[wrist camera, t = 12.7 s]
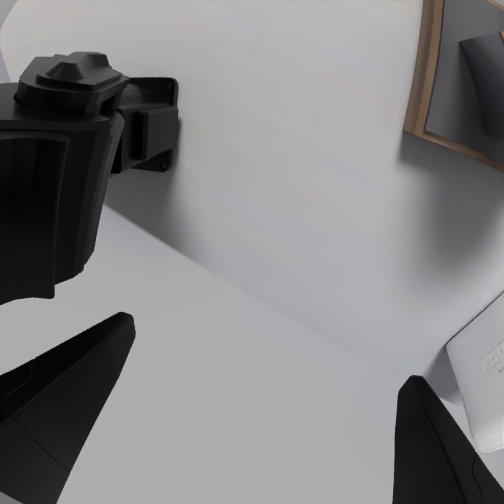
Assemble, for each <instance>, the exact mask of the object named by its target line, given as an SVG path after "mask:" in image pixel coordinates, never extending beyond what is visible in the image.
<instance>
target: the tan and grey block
mask: <svg viewBox="0 0 504 504" xmlns="http://www.w3.org/2000/svg"><path fill="white" fill-rule="evenodd" d="M459 44H460V46H461V49H462V51H463V54H464V57H465V60H466V63H467V65H468V68H469V71H470V75H471V78H472V81H473V84H474V88H475V91H476V95H477V98H478V102H479V106H480V110H481V114H482V118H483V123H484V127H485V132H486V135H488V136H491V137H493V138H496V139H499V140H501V141H504V31H503V32H498V33H493V34H488V35H484V36H479V37H475V38H471V39H467V40H463V41H459Z"/></svg>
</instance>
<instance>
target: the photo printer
mask: <svg viewBox="0 0 504 504" xmlns="http://www.w3.org/2000/svg"><path fill="white" fill-rule="evenodd" d="M446 349H447V354H448V357H449V360H450V363H451V366H452V369H453V372H454V375H455V378H456V381H457V384H458V388H459V391H460V394H461V398H462V401H463V405H464V408H465V412H466V415H467V419H468V423H469V427H470V432H471V435H472V437H473V439H474V441H475V444H476V445H477V447H478V449H479V450H480V451H483V452H484V453H487V452H493V451H497V450H500V449H503V448H504V292H503V293H502V294H501V295H500V296H499V297H498V298H497V299H496V300H495V301H494V302H493V303H492V304H491V305H490V306H489V307H487V308H486V309H485V310H484V311H483V312H482V313H481V314H480V315H479V316H478V317H476V318H475V319H474V320H473V321H472V322H471V323H470V324H469V325H468V326H466V327H465V328H464V329H463V330H462V331H461V332H460V333H458V334H457V335H456V336H455V337H454V338H453V339H452V340H451V341H450V342H449V343H448V344H447V345H446Z"/></svg>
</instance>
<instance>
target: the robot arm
mask: <svg viewBox="0 0 504 504" xmlns="http://www.w3.org/2000/svg"><path fill="white" fill-rule="evenodd" d="M111 68H112V67H111V66H110V65H109V62H108V59H107V56H106V55H105V54H102V53H98V52H74V53H72V54H70V55H69V56H66V55H60V54H55V55H54V56H53V57H35V58H34V59H33V61H32V62H31V63H30V64H29V66H28V67H27V68H26V69H25V71H24V72H23V73H22V75H21V76H20V79H19V82H18V83H3V84H0V305H2V304H5V303H7V302H10V301H13V300H16V299H23V298H31V297H34V298H45V299H52V298H54V296H55V285H56V284H58V283H60V282H63V281H66V280H68V279H71V278H74V277H75V276H76V275H78V274H79V273H81V272H82V271H83V269H84V265H85V264H86V263H87V261H88V259H89V258H90V256H91V255H92V253H93V251H94V247H95V241H96V236H97V230H98V225H99V220H100V215H101V210H102V206H103V201H104V197H105V192H106V188H107V184H108V180H109V178H110V177H112V176H114V175H116V174H119V173H121V172H123V171H125V170H127V169H129V168H133V169H141V170H148V171H155V172H166V171H168V170H169V169H170V168H171V163H172V148H173V147H174V146H175V144H176V132H177V119H178V109H177V107H176V98H177V88H178V82H177V80H176V79H174V78H165V77H143V78H130V77H127V76H125V75H122V73H120V72H118V71H116V70H113V69H111ZM168 82H171V83H172V86H171V88H168V87H167V84H168ZM162 162H164V163H165V165H166V167H165V168H164V167H163V166H162ZM135 335H136V332H135V326H134V319H133V316H132V315H131V314H128V313H125V312H118V313H117V314H115V315H113V316H111V317H109V318H108V319H105V320H104V321H102V322H100V323H98V324H96V325H94V326H93V327H91V328H89V329H87V330H85V331H83V332H82V333H80V334H78V335H76V336H74V337H72V338H70V339H69V340H67V341H65V342H63V343H61V344H60V345H58V346H56V347H54V348H52V349H50V350H49V351H47V352H45V353H43V354H41V355H40V356H38V357H36V358H35V360H34V359H32V360H30V361H28V362H27V363H25V364H23V365H21V366H19V367H17V368H15V369H13V370H11V371H9V372H7V373H4V374H2V375H0V504H56V503H57V501H58V498H59V496H60V494H61V492H62V490H63V488H64V485H65V483H66V481H67V479H68V477H69V475H70V472H71V470H72V468H73V466H74V464H75V462H76V460H77V457H78V455H79V453H80V451H81V449H82V447H83V445H84V443H85V441H86V439H87V437H88V435H89V433H90V431H91V429H92V427H93V425H94V423H95V421H96V420H97V417H98V416H99V414H100V412H101V410H102V408H103V406H104V404H105V402H106V400H107V399H108V397H109V395H110V393H111V391H112V389H113V387H114V385H115V384H116V382H117V380H118V378H119V376H120V373H121V371H122V368H123V366H124V364H125V361H126V359H127V356H128V354H129V351H130V349H131V347H132V344H133V342H134V339H135ZM392 504H504V490H503V488H502V487H501V486H500V484H499V483H498V482H497V481H496V479H495V478H494V477H493V475H492V474H491V473H490V471H489V470H488V469H487V467H486V466H485V464H484V463H483V461H482V460H481V458H480V457H479V455H478V454H477V452H475V449H474V448H473V446H472V445H471V443H470V442H469V440H468V439H467V438H466V436H465V434H464V433H463V431H462V430H461V429H460V427H459V426H458V424H457V423H456V421H455V420H454V418H453V417H452V416H451V414H450V413H449V411H448V410H447V409H446V408H445V406H444V404H443V403H442V402H441V400H440V399H439V397H438V396H437V395H436V393H435V392H434V391H433V389H432V388H431V387H430V385H429V384H428V382H427V381H426V380H425V378H424V377H423V376H418V375H412V376H410V377H409V378H408V380H407V381H406V382H405V383H404V385H403V386H402V387H401V389H400V390H399V393H398V400H397V416H396V426H395V461H394V487H393V502H392Z"/></svg>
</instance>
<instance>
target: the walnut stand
mask: <svg viewBox="0 0 504 504" xmlns="http://www.w3.org/2000/svg"><path fill="white" fill-rule="evenodd" d="M503 31H504V7H503V6H501V5H500V4H498V3H497V2H495V1H493V0H424V1H423V12H422V22H421V31H420V39H419V46H418V53H417V60H416V66H415V72H414V78H413V84H412V89H411V94H410V99H409V104H408V109H407V114H406V118H405V123H404V127H403V130H404V131H406V132H409V133H411V134H413V135H416V136H418V137H421V138H424V139H427V140H429V141H432V142H435V143H437V144H440V145H443V146H445V147H448V148H450V149H453V150H455V151H458V152H460V153H462V154H465V155H467V156H469V157H472V158H474V159H476V160H478V161H481V162H483V163H485V164H487V165H489V166H491V167H493V168H495V169H497V170H499V171H502V172H504V141H501V140H499V139H496V138H493V137H491V136H488V135H486V132H485V127H484V123H483V118H482V114H481V110H480V106H479V102H478V98H477V95H476V91H475V88H474V84H473V81H472V78H471V75H470V71H469V68H468V65H467V63H466V60H465V57H464V54H463V51H462V49H461V46H460V44H459V41H463V40H467V39H471V38H475V37H479V36H484V35H488V34H493V33H498V32H503Z"/></svg>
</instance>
